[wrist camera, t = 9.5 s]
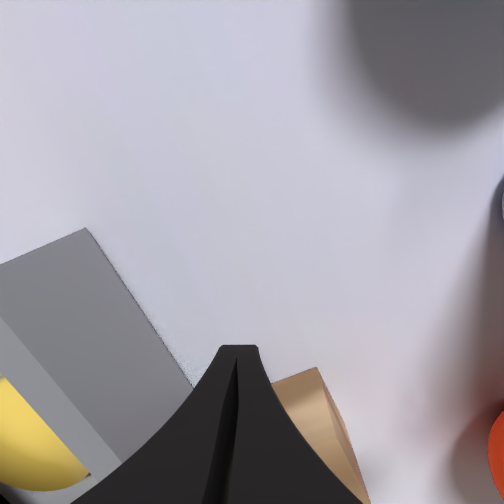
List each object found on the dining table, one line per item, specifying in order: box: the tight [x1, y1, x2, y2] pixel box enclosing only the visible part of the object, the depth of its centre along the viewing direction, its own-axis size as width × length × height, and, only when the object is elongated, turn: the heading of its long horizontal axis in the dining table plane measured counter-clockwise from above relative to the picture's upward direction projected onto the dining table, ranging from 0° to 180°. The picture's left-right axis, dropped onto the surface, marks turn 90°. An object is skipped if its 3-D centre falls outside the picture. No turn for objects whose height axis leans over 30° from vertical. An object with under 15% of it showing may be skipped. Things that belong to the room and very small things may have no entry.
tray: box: [0, 228, 231, 504], centre depth 13 cm, size 14×12×6 cm
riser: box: [271, 367, 371, 504], centre depth 14 cm, size 4×4×4 cm
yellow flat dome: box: [0, 375, 89, 492], centre depth 14 cm, size 6×6×2 cm
